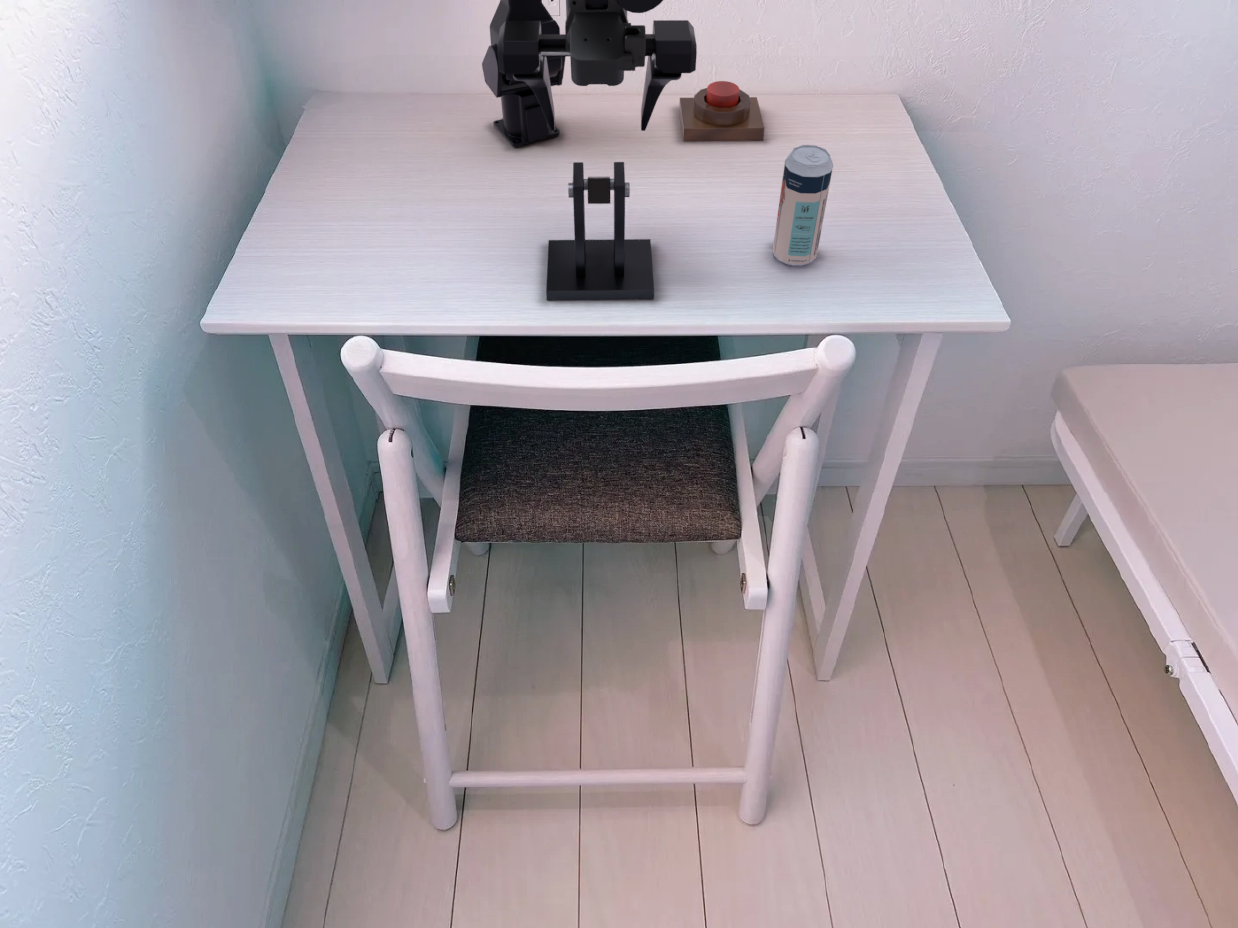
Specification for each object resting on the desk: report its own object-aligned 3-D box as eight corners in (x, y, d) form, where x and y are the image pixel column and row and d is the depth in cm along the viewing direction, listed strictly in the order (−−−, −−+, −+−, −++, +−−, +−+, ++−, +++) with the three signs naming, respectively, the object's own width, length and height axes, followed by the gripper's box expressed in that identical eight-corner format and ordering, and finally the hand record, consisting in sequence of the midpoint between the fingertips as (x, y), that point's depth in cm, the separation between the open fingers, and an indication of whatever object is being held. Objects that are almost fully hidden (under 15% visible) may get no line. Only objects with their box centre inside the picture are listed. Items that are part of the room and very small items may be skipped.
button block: (683, 141, 122) (684, 114, 120) (679, 110, 128) (680, 84, 125) (762, 140, 122) (766, 114, 120) (755, 109, 128) (758, 83, 125)
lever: (575, 196, 106) (575, 172, 105) (622, 195, 106) (621, 172, 105) (573, 204, 95) (572, 178, 94) (624, 203, 95) (624, 178, 95)
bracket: (549, 249, 107) (543, 150, 98) (650, 248, 107) (653, 149, 98) (546, 300, 100) (540, 199, 92) (653, 299, 101) (657, 198, 92)
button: (707, 109, 121) (708, 96, 120) (704, 94, 124) (705, 81, 123) (739, 109, 122) (741, 96, 120) (736, 94, 124) (737, 80, 123)
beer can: (797, 238, 108) (813, 138, 99) (825, 260, 105) (844, 158, 97) (762, 252, 106) (776, 151, 98) (791, 274, 104) (807, 172, 95)
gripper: (486, 7, 83) (501, 172, 95) (706, 6, 83) (695, 171, 95) (495, -44, 91) (508, 115, 102) (696, -44, 91) (687, 114, 102)
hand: (598, 129), depth 100 cm, fingers open, 9 cm apart
